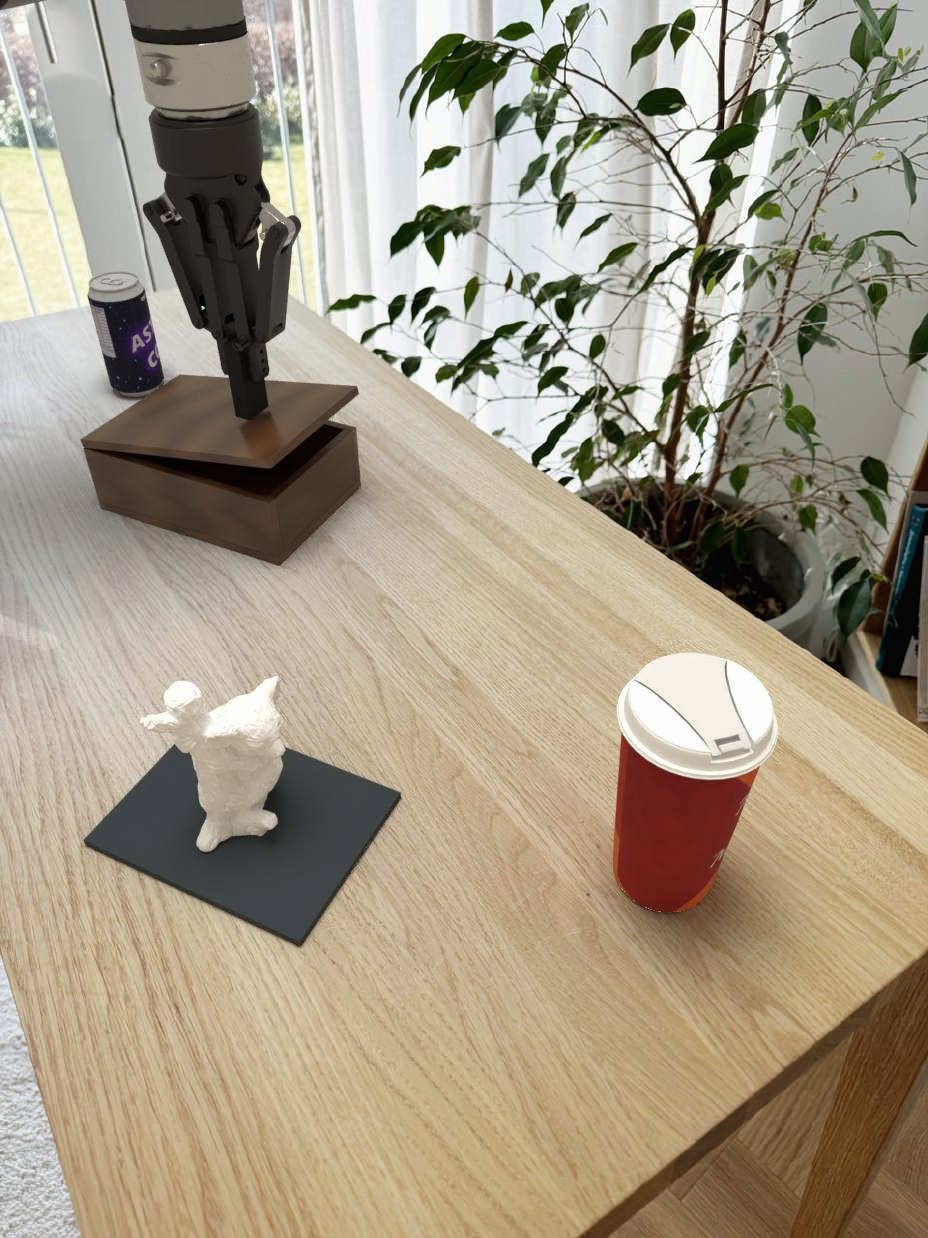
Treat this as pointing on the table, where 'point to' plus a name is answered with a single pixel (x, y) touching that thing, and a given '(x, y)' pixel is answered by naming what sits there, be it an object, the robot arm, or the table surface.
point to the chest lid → (220, 421)
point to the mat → (251, 840)
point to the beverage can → (125, 333)
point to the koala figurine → (227, 755)
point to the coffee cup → (685, 773)
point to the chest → (235, 492)
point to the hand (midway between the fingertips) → (252, 411)
